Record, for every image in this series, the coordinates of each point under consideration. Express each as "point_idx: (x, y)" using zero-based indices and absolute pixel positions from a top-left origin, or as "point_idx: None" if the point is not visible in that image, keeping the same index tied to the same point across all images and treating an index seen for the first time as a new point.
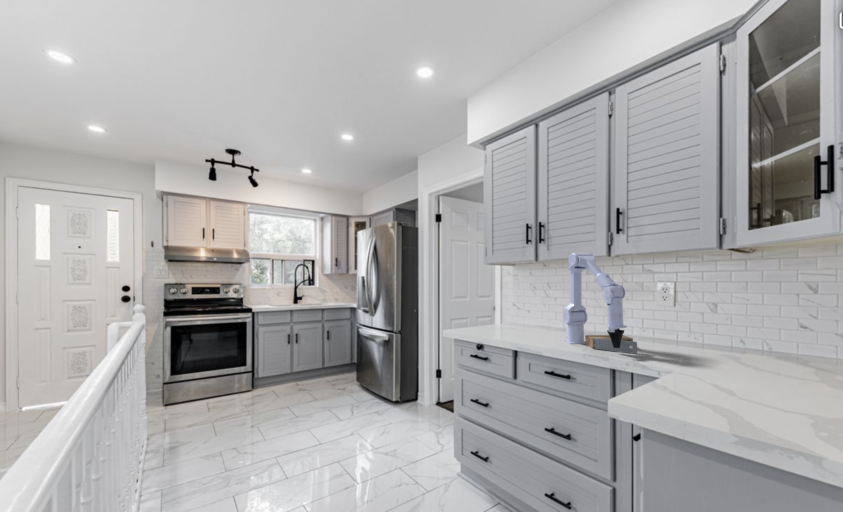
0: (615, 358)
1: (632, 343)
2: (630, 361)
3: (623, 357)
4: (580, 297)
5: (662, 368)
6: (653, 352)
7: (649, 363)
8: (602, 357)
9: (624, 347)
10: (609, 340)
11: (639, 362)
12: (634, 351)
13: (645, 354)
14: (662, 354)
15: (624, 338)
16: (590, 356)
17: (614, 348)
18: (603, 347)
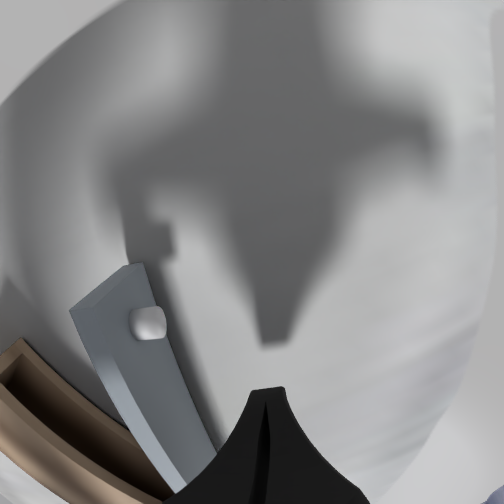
0: (431, 310)
1: (116, 337)
2: (467, 192)
3: (364, 288)
4: None
5: (486, 3)
6: (8, 201)
7: (438, 66)
8: (437, 372)
9: (161, 374)
10: None
11: (458, 130)
12: (143, 286)
13: (99, 207)
14: (25, 125)
15: (24, 420)
16: (437, 416)
17: (192, 420)
18: None
